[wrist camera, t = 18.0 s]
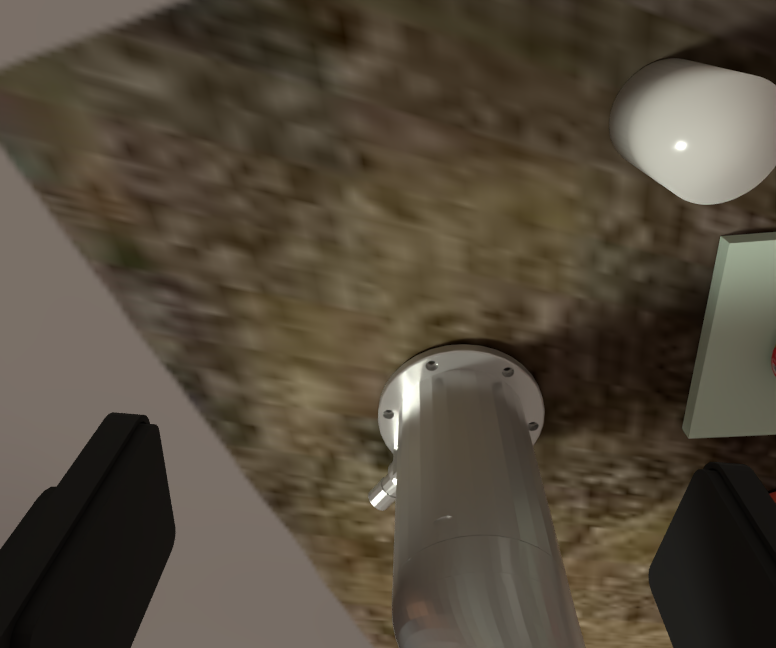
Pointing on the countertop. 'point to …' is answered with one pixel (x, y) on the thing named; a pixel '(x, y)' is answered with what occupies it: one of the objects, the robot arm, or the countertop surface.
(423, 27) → the countertop surface
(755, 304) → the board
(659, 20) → the countertop surface
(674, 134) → the white rounded cylinder
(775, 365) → the soda can
